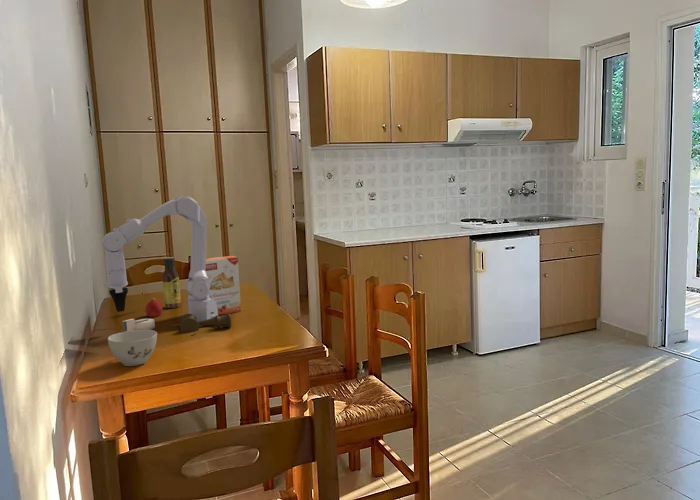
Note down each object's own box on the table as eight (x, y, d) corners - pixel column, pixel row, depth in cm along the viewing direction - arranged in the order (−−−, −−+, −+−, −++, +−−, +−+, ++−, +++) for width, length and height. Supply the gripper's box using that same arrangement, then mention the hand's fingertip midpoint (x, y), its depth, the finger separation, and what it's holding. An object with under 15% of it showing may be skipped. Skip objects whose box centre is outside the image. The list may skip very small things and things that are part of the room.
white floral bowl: (162, 365, 148) (159, 336, 147) (112, 374, 142) (108, 344, 141) (154, 350, 161) (152, 324, 160) (108, 358, 155) (105, 331, 154)
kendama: (233, 332, 179) (169, 338, 173) (230, 326, 188) (169, 332, 182) (232, 314, 179) (168, 320, 173) (229, 309, 188) (167, 314, 182)
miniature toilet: (147, 324, 187) (146, 313, 186) (159, 327, 182) (157, 315, 182) (118, 332, 179) (117, 320, 178) (129, 335, 174) (128, 322, 174)
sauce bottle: (178, 308, 216) (173, 258, 213) (162, 309, 216) (157, 259, 213) (183, 304, 222) (179, 256, 220) (168, 305, 222) (163, 256, 220)
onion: (142, 320, 198) (140, 299, 197) (155, 316, 204) (153, 295, 202) (154, 322, 196) (152, 300, 195) (166, 318, 201) (164, 296, 200)
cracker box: (206, 318, 198) (201, 260, 195) (200, 315, 202) (195, 259, 200) (242, 311, 206) (238, 256, 203) (235, 308, 211) (231, 254, 208)
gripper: (102, 268, 181) (106, 308, 183) (102, 274, 168) (107, 317, 170) (125, 265, 184) (129, 305, 186) (127, 271, 171) (132, 314, 173)
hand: (120, 311), depth 178 cm, fingers closed
